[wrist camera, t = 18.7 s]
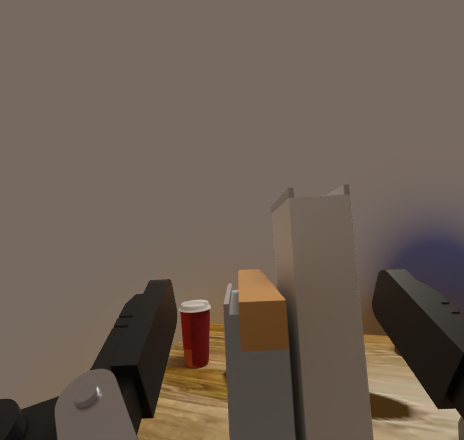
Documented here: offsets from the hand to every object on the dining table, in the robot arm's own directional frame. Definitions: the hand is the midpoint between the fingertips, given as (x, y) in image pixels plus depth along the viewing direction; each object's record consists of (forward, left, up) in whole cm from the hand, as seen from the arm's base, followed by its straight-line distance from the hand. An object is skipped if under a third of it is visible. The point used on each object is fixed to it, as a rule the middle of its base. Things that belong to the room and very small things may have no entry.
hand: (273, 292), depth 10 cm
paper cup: (-16, -52, -26) cm, 61 cm away
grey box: (-11, -18, -26) cm, 33 cm away
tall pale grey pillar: (-17, -15, -26) cm, 34 cm away
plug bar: (-8, -14, -5) cm, 17 cm away
